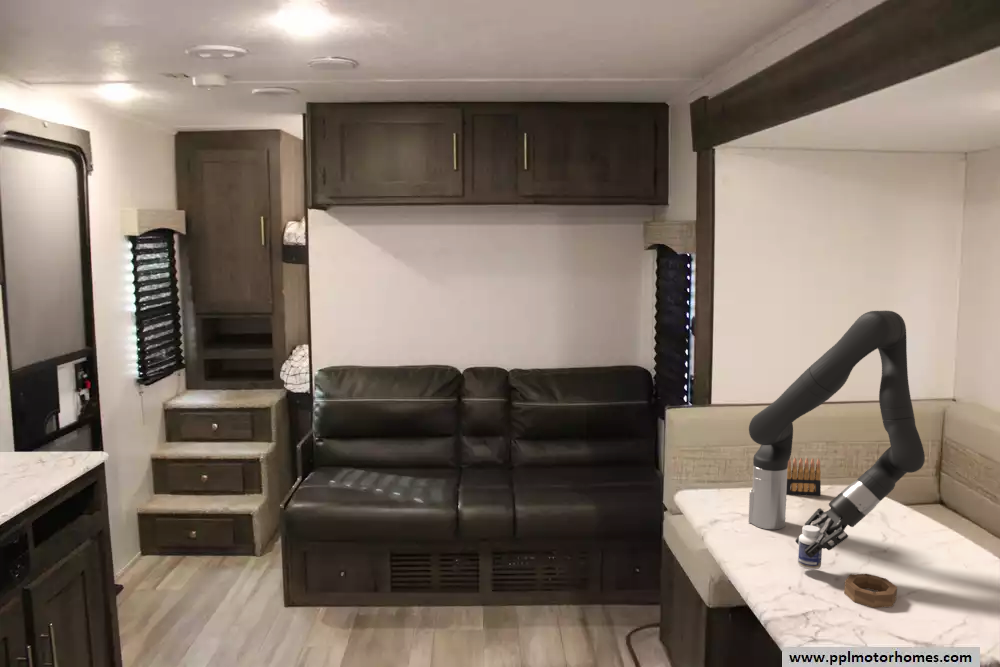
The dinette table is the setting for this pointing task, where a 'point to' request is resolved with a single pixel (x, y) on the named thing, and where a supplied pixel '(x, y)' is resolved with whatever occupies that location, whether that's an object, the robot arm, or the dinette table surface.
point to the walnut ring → (858, 594)
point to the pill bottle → (805, 541)
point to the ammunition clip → (804, 478)
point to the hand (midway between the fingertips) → (802, 549)
